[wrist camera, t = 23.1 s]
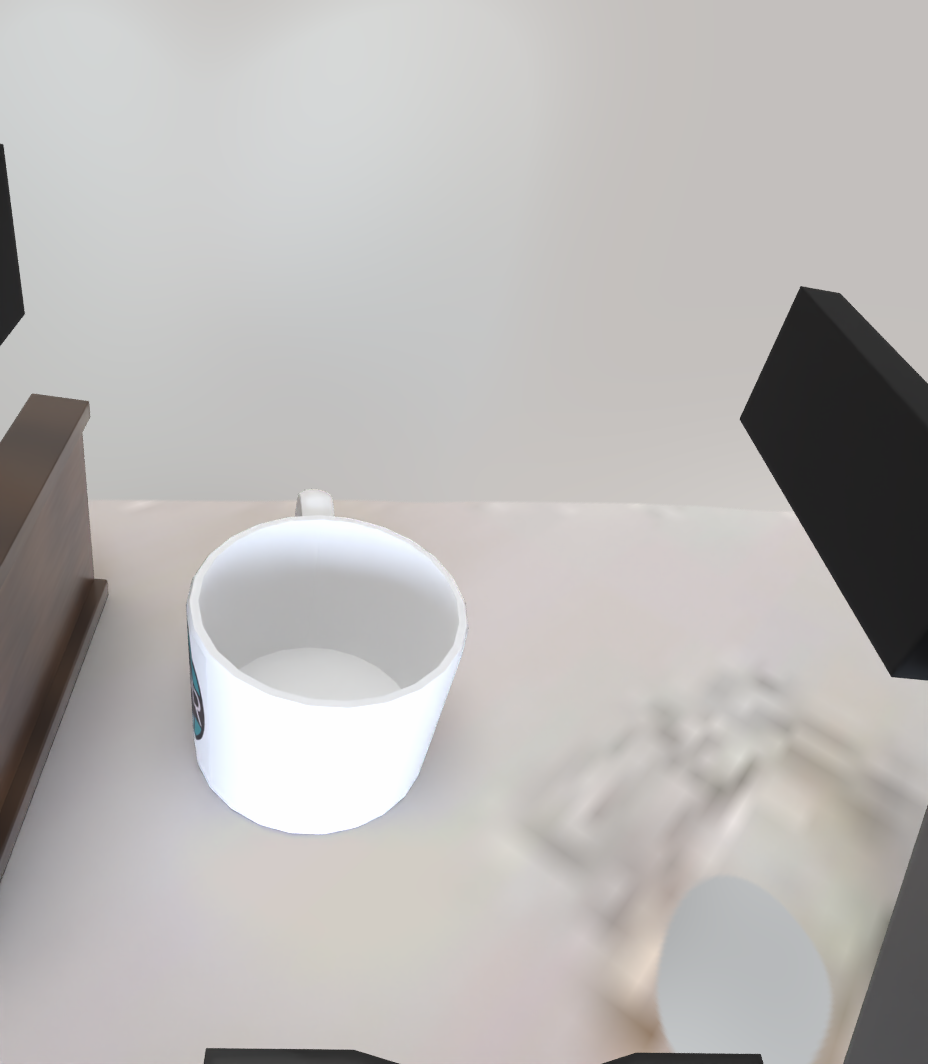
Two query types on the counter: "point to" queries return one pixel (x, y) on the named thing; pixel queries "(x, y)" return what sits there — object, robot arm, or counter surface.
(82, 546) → the wall board
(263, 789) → the mug
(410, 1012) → the counter surface
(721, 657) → the counter surface
